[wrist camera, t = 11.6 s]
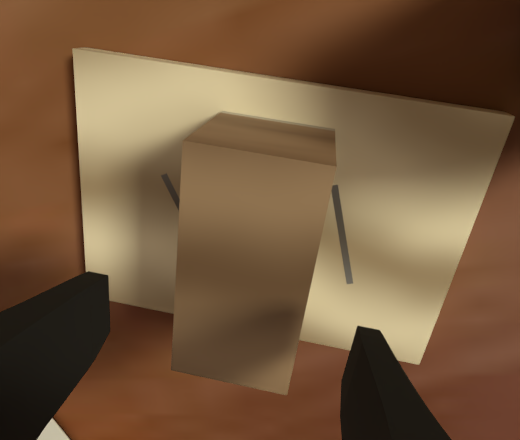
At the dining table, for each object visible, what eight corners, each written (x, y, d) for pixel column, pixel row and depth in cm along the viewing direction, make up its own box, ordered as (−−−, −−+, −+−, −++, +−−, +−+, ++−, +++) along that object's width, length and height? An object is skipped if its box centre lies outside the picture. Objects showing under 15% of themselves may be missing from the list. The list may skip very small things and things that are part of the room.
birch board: (415, 350, 21) (419, 364, 20) (97, 285, 23) (87, 296, 22) (505, 111, 16) (515, 116, 15) (85, 47, 18) (72, 48, 17)
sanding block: (296, 313, 20) (286, 395, 16) (206, 295, 21) (171, 370, 16) (334, 129, 16) (336, 166, 12) (222, 110, 17) (182, 140, 12)
